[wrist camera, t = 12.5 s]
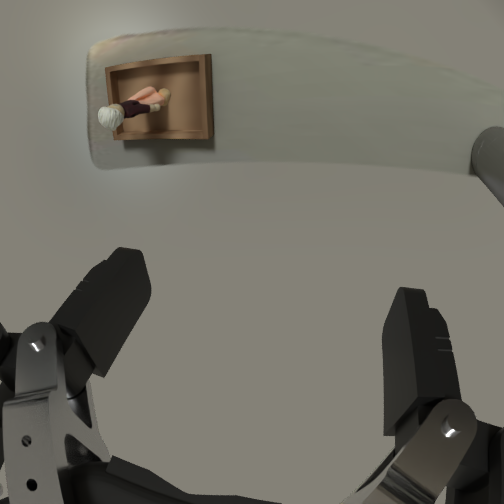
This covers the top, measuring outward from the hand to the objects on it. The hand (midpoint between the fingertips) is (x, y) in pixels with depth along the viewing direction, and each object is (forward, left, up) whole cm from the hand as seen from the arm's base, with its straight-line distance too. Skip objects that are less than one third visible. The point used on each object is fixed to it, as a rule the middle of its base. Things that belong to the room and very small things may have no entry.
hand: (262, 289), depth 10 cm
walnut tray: (+22, 0, -36) cm, 42 cm away
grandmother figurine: (+23, 0, -36) cm, 42 cm away
